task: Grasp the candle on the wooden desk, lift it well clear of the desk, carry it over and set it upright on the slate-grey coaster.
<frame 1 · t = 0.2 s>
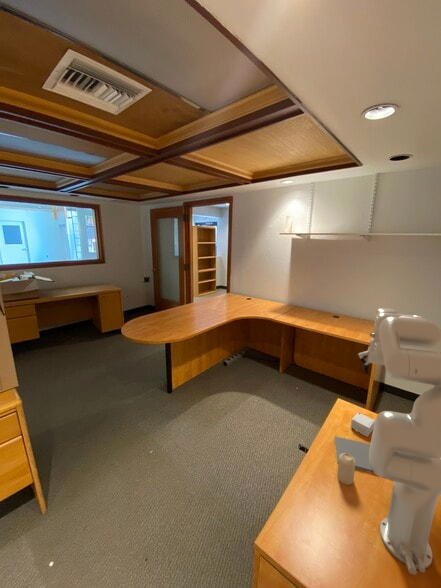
hand: (378, 374, 109), 31 cm above the table, fingers open, 9 cm apart
candle: (345, 478, 95), on the table
slate coaster: (354, 454, 105), on the table
small box: (361, 429, 120), on the table
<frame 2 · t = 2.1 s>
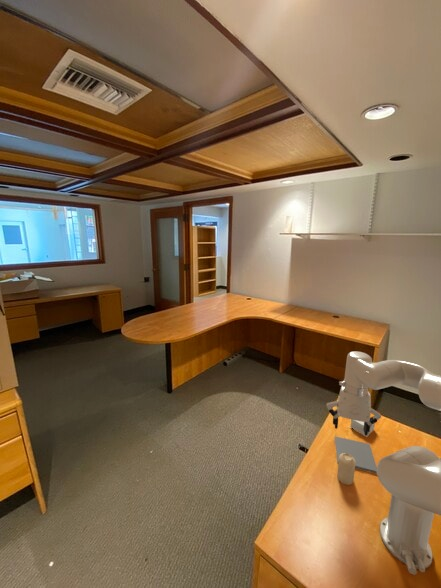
hand: (350, 429, 90), 21 cm above the table, fingers open, 9 cm apart
nothing on the table moved.
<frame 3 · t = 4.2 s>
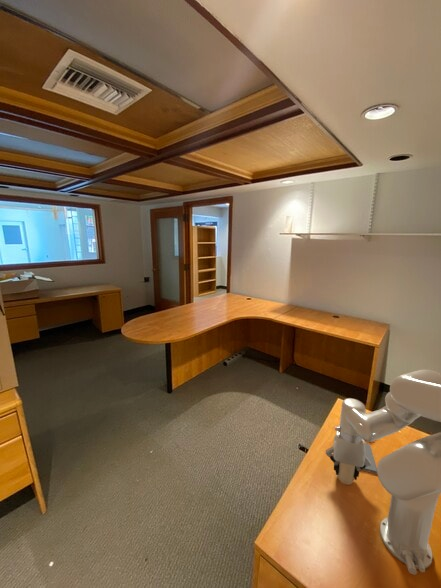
hand: (345, 473, 94), 2 cm above the table, fingers closed on candle, 5 cm apart
candle: (345, 478, 95), on the table, touching gripper
everything else where it was.
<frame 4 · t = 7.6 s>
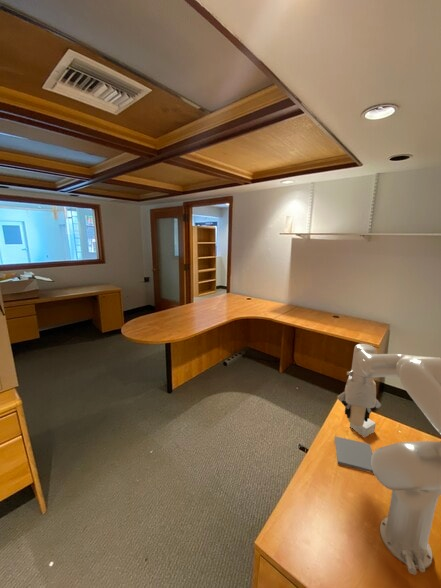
hand: (356, 417, 98), 20 cm above the table, fingers closed on candle, 5 cm apart
candle: (355, 421, 99), point 18 cm above the table, touching gripper
everything else where it was.
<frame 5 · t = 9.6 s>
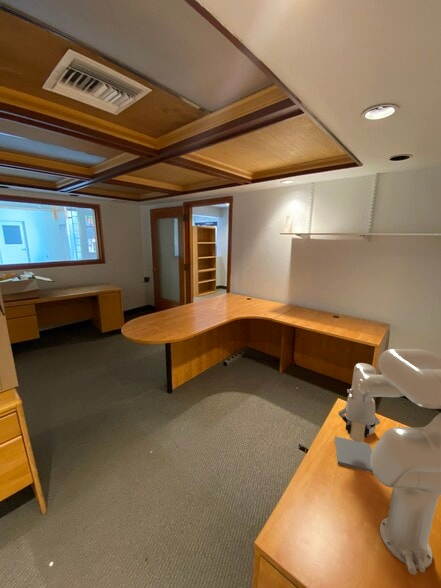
hand: (356, 432, 103), 10 cm above the table, fingers closed on candle, 5 cm apart
candle: (356, 437, 103), point 8 cm above the table, touching gripper
everything else where it was.
when the fingers open (5 cm above the table, at t = 11.1 s): candle drops 1 cm, resting on slate coaster.
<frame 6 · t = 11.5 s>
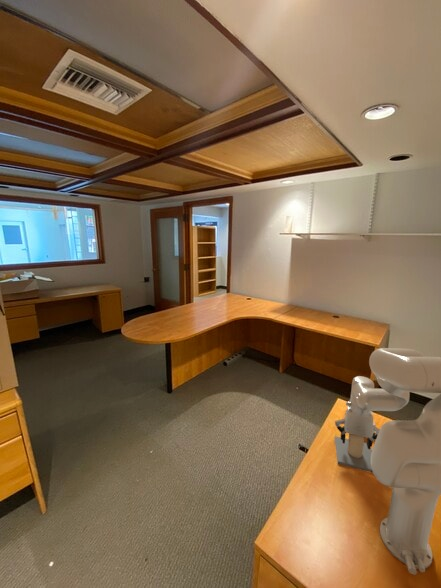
hand: (355, 443, 104), 5 cm above the table, fingers open, 9 cm apart
candle: (354, 453, 105), point 1 cm above the table, touching slate coaster
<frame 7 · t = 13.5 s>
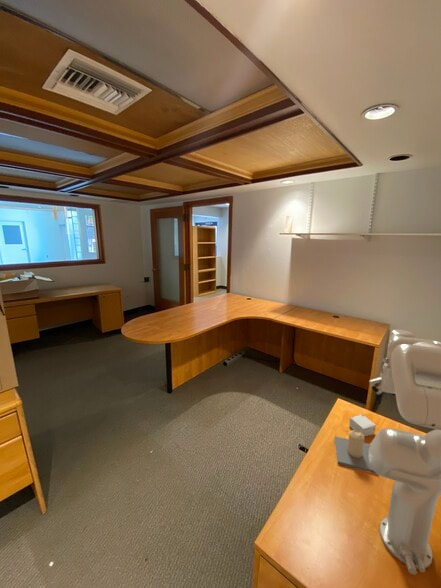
hand: (392, 404, 96), 27 cm above the table, fingers open, 9 cm apart
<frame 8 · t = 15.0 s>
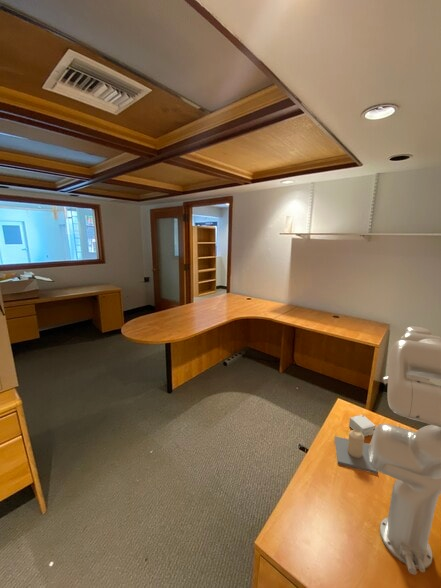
hand: (406, 402, 94), 28 cm above the table, fingers open, 9 cm apart
at the end: candle inside the target area on the slate coaster (0.2 cm from its centre), point 1.0 cm above the slate coaster's base; candle tilted 0°; the gripper is holding nothing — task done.
